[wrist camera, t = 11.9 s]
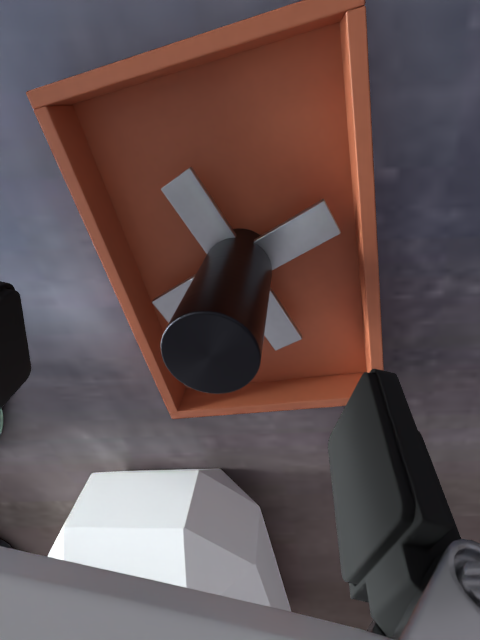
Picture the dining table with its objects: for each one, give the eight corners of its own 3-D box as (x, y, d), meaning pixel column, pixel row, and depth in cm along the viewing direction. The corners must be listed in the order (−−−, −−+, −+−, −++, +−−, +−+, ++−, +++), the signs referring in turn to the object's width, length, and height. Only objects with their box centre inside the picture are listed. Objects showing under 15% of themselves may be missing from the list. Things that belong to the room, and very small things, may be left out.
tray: (60, 92, 16) (24, 91, 14) (353, -2, 13) (364, -21, 11) (182, 391, 24) (171, 419, 22) (376, 372, 21) (385, 403, 19)
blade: (118, 182, 17) (1, 238, 10) (328, 130, 15) (356, 159, 8) (181, 347, 21) (130, 463, 15) (348, 327, 19) (377, 451, 13)
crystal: (234, 592, 17) (305, 751, 31) (253, 431, 25) (302, 614, 39) (-18, 579, 20) (148, 729, 34) (71, 440, 28) (177, 607, 42)
